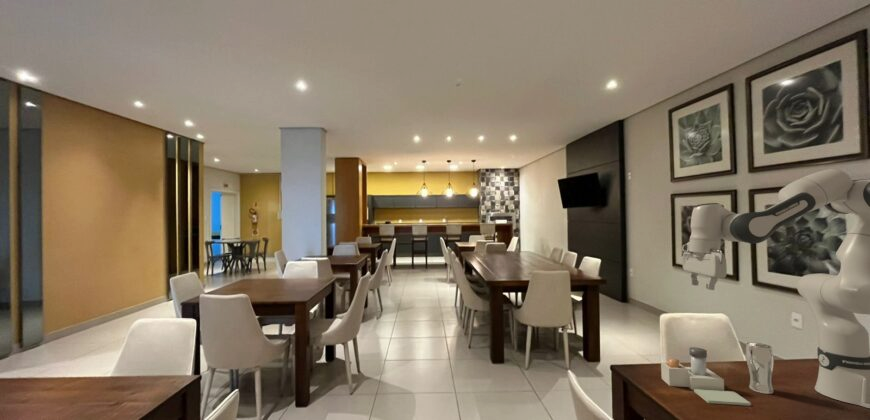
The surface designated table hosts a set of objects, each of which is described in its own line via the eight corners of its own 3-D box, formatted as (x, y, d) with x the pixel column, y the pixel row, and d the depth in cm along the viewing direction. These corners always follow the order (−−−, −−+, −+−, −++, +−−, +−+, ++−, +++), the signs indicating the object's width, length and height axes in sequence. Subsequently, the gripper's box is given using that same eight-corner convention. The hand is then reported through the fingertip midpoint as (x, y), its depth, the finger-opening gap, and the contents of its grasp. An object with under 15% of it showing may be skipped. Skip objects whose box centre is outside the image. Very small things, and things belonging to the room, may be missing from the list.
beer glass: (780, 395, 117) (778, 349, 118) (756, 393, 119) (753, 347, 119) (765, 386, 124) (763, 342, 125) (742, 384, 125) (740, 341, 126)
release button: (676, 369, 129) (676, 358, 129) (681, 373, 126) (681, 361, 126) (667, 369, 129) (666, 358, 130) (671, 372, 126) (671, 361, 126)
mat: (733, 393, 119) (733, 391, 119) (751, 405, 111) (750, 403, 111) (694, 391, 121) (694, 389, 121) (708, 403, 113) (708, 400, 113)
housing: (706, 379, 130) (705, 362, 131) (724, 391, 120) (723, 373, 121) (659, 376, 133) (658, 360, 133) (672, 388, 123) (671, 370, 123)
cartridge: (703, 381, 128) (701, 347, 129) (711, 387, 123) (709, 352, 124) (687, 380, 129) (686, 347, 130) (695, 386, 124) (694, 351, 125)
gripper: (734, 250, 116) (731, 293, 115) (697, 247, 136) (695, 284, 135) (712, 249, 117) (710, 291, 116) (679, 246, 137) (677, 282, 136)
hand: (702, 287), depth 126 cm, fingers open, 8 cm apart
